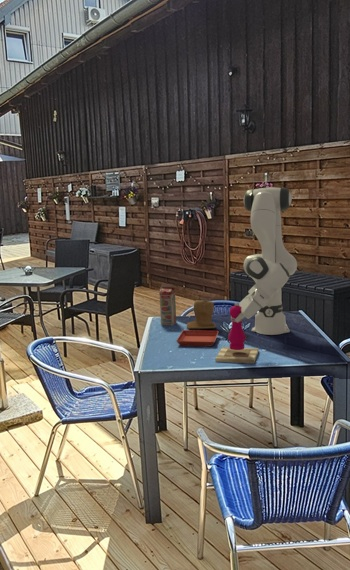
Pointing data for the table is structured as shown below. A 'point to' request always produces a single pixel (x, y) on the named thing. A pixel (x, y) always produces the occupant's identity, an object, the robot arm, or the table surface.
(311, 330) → the table surface
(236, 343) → the pepper mill
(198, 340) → the plant saucer
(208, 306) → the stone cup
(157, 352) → the table surface
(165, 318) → the juice carton
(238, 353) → the birch board
